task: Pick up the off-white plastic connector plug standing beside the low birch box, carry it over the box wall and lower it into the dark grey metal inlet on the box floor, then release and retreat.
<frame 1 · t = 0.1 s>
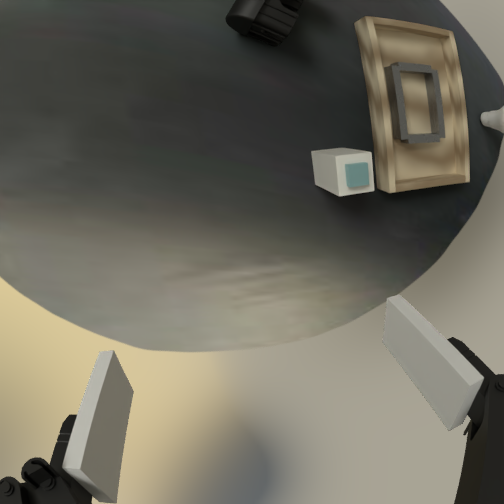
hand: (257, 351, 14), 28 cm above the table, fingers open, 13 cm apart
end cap: (265, 10, 31), on the table
connector plug: (328, 165, 40), on the table
grey inlet: (409, 103, 38), resting on birch box
birch box: (414, 103, 38), on the table
lightbulb: (481, 118, 40), on the table
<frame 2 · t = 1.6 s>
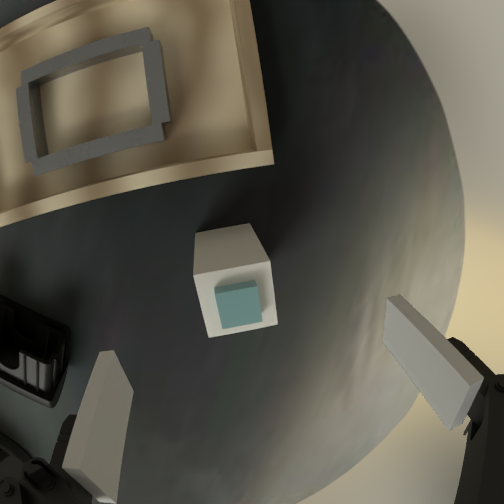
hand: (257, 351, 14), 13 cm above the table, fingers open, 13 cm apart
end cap: (31, 334, 26), on the table
connector plug: (227, 253, 26), on the table
grey inlet: (97, 103, 20), resting on birch box
birch box: (96, 92, 20), on the table
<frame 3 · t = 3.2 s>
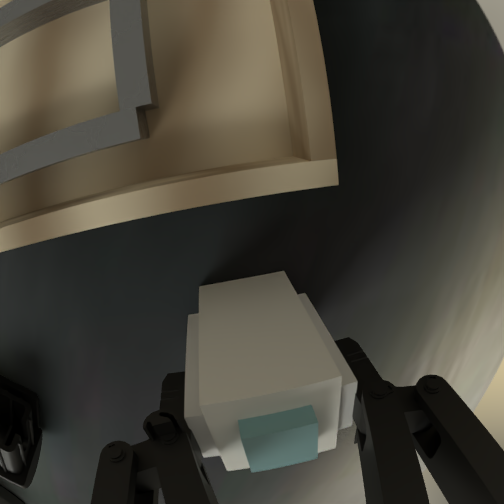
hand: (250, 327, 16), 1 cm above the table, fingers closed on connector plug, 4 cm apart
connector plug: (247, 314, 17), on the table, touching gripper
grey inlet: (45, 84, 11), resting on birch box
birch box: (43, 67, 11), on the table
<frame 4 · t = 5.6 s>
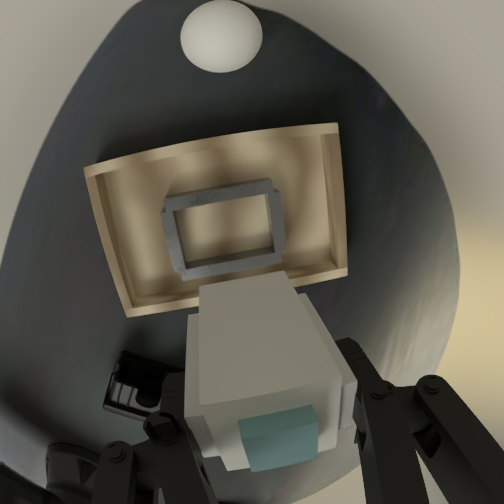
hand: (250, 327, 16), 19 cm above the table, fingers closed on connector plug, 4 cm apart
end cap: (148, 376, 39), on the table
connector plug: (247, 314, 17), point 17 cm above the table, touching gripper
grey inlet: (223, 223, 33), resting on birch box
birch box: (221, 214, 33), on the table
lightbulb: (217, 59, 27), on the table
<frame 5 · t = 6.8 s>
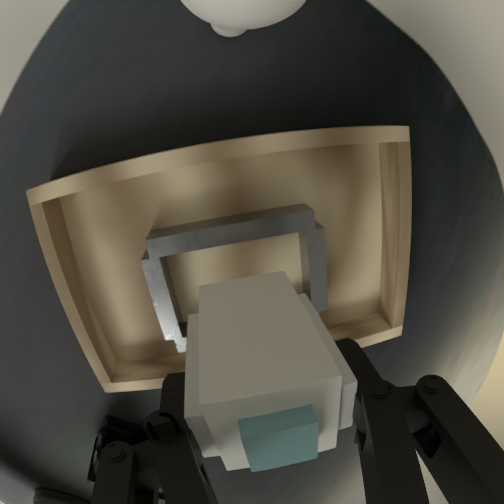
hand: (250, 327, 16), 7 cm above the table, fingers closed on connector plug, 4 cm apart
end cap: (140, 441, 29), on the table
connector plug: (247, 314, 17), point 6 cm above the table, touching gripper
grey inlet: (236, 268, 23), resting on birch box
birch box: (233, 256, 22), on the table
lightbulb: (229, 25, 17), on the table
when the fingers open (4 cm above the table, at t = 7.8 s): connector plug drops 1 cm, resting on birch box.
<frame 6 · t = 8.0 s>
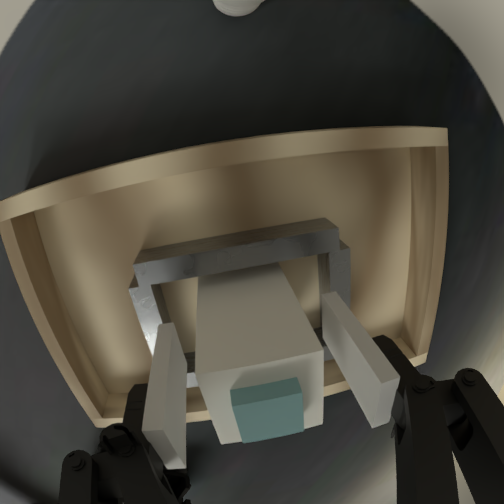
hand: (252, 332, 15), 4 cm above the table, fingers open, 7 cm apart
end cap: (138, 467, 26), on the table
connector plug: (243, 301, 18), point 1 cm above the table, touching birch box
grey inlet: (242, 293, 19), resting on birch box
birch box: (240, 278, 19), on the table
lightbulb: (234, 4, 13), on the table
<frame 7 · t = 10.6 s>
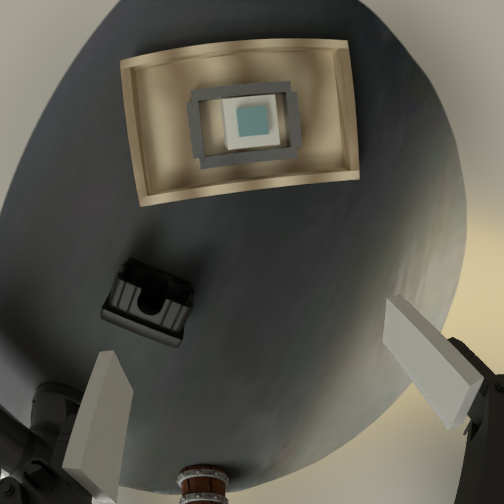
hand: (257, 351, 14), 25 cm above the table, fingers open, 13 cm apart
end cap: (152, 291, 40), on the table
connector plug: (243, 123, 32), point 1 cm above the table, touching birch box
grey inlet: (242, 123, 33), resting on birch box
birch box: (241, 115, 33), on the table
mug: (201, 477, 58), on the table
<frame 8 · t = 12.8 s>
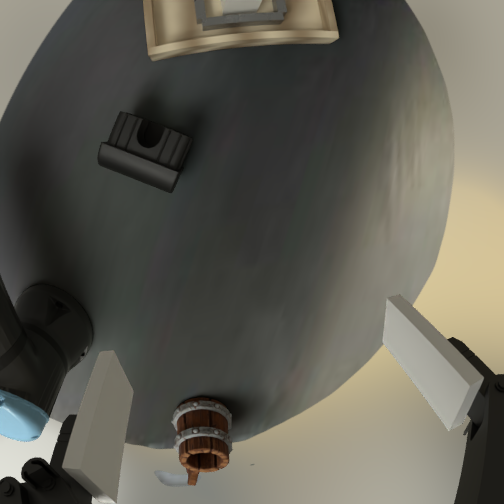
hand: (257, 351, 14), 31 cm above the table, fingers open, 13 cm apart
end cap: (151, 150, 39), on the table
connector plug: (237, 0, 31), point 1 cm above the table, touching birch box
grey inlet: (237, 3, 32), resting on birch box
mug: (200, 418, 57), on the table
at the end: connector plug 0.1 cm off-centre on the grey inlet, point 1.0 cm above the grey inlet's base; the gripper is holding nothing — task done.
